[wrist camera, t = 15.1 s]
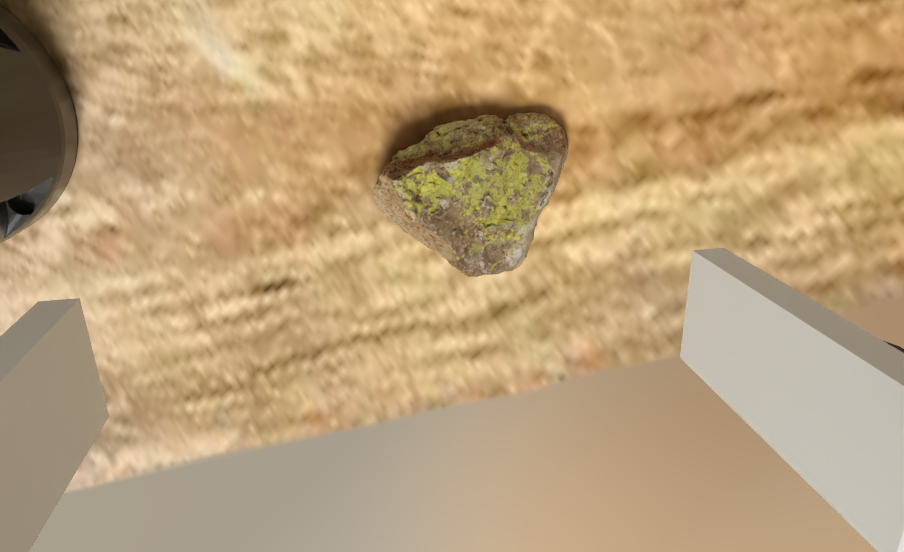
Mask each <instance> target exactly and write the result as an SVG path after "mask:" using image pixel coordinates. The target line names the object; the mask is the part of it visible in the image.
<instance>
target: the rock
mask: <svg viewBox="0 0 904 552" xmlns="http://www.w3.org/2000/svg"><path fill="white" fill-rule="evenodd" d="M567 151H568V143H567V138H566V135H565V130H563V129H562V127H561V126H560V125H559V124H558V123H557V122H556V121H555V120H554V119H552V118H551V117H549V116H548V115H547V114H539V113H534V112H531V113H526V114H520V113H517V114H515V115H510V116H509V117H508V118H507V119H506V120H505V121H504V120H503V119H500V118H498V117H497V116H496V115H491V116H490V115H488V114H487V115H481V116H478V117H477V118H475V119H471V120H470V119H467V120H466V121H463V120H461V121H455V122H451V123H447V124H443V125H438V126H436V127H434V129H433V131H431V132H430V133H428V134H427V135H425V138H424V140H422V141H421V142H420V143H418V144H415V145H412V146H409V147H408V148H407V149H405V150H401V151H398V153H397V154H396V155H395V156H393V157H392V162H390V163H387V164H386V165H385V166H384V168H383V169H382V172H381V174H380V176H379V178H378V181H377V183H376V186H375V187H374V189H373V196H374V199H375V202H376V205H377V206H378V208H379V209H380V210H381V211H382V212H383V213H384V214H385V215H386V216H387V217H388V219H389V220H390V221H392V222H394V223H395V224H397V225H399V227H400V228H401V229H402V230H403V231H404V232H406V233H408V234H410V235H411V236H412V237H413V238H414V239H416V240H418V241H420V242H421V243H423V244H424V245H425V246H427V247H428V248H430V249H433V250H435V251H437V252H438V253H439V254H440V255H441V256H442V257H443V258H445V259H446V260H447V261H448V262H449V263H450V264H451V265H452V266H454V267H456V268H457V269H458V270H460V271H461V272H462V273H464V274H465V275H467V276H469V277H470V276H476V277H477V276H481V275H485V274H499V273H501V272H504V271H512V270H514V269H516V268H518V267H519V266H520V265H521V264H522V262H523V261H524V260H525V259H526V257H527V253H528V249H529V246H530V244H531V242H532V241H533V239H534V228H535V227H536V224H537V219H538V216H539V215H540V213H541V211H542V210H543V208H544V207H545V206H547V205H548V203H549V199H550V196H551V195H552V193H553V192H554V190H555V187H556V185H557V183H558V180H559V177H560V173H561V170H562V169H563V167H564V163H565V161H566V158H567V154H568V152H567Z"/></svg>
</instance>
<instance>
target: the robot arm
mask: <svg viewBox="0 0 904 552" xmlns="http://www.w3.org/2000/svg"><path fill="white" fill-rule="evenodd" d="M76 152H77V124H76V117H75V112H74V108H73V104H72V100H71V97H70V94H69V92H68V89H67V87H66V84H65V82H64V80H63V78H62V76H61V74H60V72H59V70H58V68H57V66H56V65H55V63H54V61H53V60H52V58H51V57H50V55H49V54H48V53H47V51H46V50H45V48H44V47H43V46H42V45H41V43H40V42H39V41H38V40H37V39H36V37H35V36H34V35H33V34H32V33H31V32H30V31H29V30H28V29H27V28H26V27H25V26H24V25H23V24H22V23H21V22H20V21H19V20H18V19H17V18H15V17H14V16H13V15H12V14H11V13H9V12H8V11H7V10H6V9H4V8H3V7H2V6H0V243H1V242H3V241H5V240H7V239H9V238H11V237H13V236H14V235H16V234H17V233H19V232H21V231H22V230H24V229H25V228H27V227H29V226H30V225H32V224H33V223H35V222H36V221H37V220H39V219H40V218H41V217H42V216H43V215H45V214H46V213H47V212H48V211H49V210H50V209H51V208H52V207H53V205H54V204H55V203H56V202H57V200H58V199H59V198H60V196H61V195H62V193H63V191H64V190H65V188H66V186H67V184H68V182H69V179H70V177H71V174H72V171H73V168H74V164H75V159H76ZM680 358H681V359H682V360H683V361H684V362H685V363H686V364H687V365H688V366H689V367H690V368H691V369H692V370H693V371H694V372H695V373H697V375H699V377H701V378H702V379H703V380H704V381H705V382H706V383H707V384H708V385H709V386H710V387H711V388H712V389H713V390H714V391H715V392H716V393H717V394H718V395H719V396H720V397H721V398H722V399H723V400H724V401H725V402H726V403H727V404H728V405H729V406H730V407H731V408H732V409H733V410H734V411H735V412H736V413H737V414H738V415H739V416H740V417H741V418H742V419H743V420H744V421H745V422H747V423H748V424H749V426H750V427H752V428H753V429H754V430H755V431H756V432H757V433H758V434H759V435H760V436H761V437H762V438H763V439H764V440H765V441H766V442H767V443H768V444H769V445H770V446H771V447H772V448H773V449H774V450H775V451H776V452H777V453H778V454H779V455H780V456H781V457H782V458H783V459H784V460H785V461H786V462H787V463H788V464H789V465H790V466H791V467H792V468H793V469H794V470H795V471H796V472H797V473H798V474H800V475H801V476H802V478H803V479H805V480H806V481H807V482H808V483H809V484H810V485H811V486H812V487H813V488H814V489H815V490H816V491H817V492H818V493H819V494H820V495H821V496H822V497H823V498H824V499H825V500H826V501H827V502H828V503H829V504H830V505H831V506H832V507H833V508H834V509H835V510H836V511H837V512H838V513H839V514H840V515H841V516H842V517H843V518H844V519H845V520H846V521H847V522H848V523H849V524H850V525H852V527H854V529H856V530H857V531H858V532H859V533H860V534H861V535H862V536H863V537H864V538H865V539H866V540H867V541H868V542H869V543H870V544H871V545H872V546H873V547H874V548H875V549H876V550H877V551H878V552H904V349H903V348H901V347H899V346H896V345H894V344H891V343H888V342H885V341H883V340H881V339H879V338H877V337H875V336H874V335H872V334H870V333H869V332H867V331H865V330H863V329H862V328H860V327H858V326H857V325H855V324H853V323H851V322H850V321H848V320H846V319H845V318H843V317H841V316H839V315H838V314H836V313H834V312H833V311H831V310H829V309H827V308H826V307H824V306H822V305H821V304H819V303H817V302H815V301H814V300H812V299H810V298H809V297H807V296H805V295H803V294H802V293H800V292H798V291H797V290H795V289H793V288H791V287H790V286H788V285H786V284H785V283H783V282H781V281H779V280H778V279H776V278H774V277H773V276H771V275H769V274H767V273H766V272H764V271H762V270H761V269H759V268H757V267H755V266H754V265H752V264H750V263H749V262H747V261H745V260H743V259H742V258H740V257H738V256H737V255H735V254H733V253H731V252H730V251H728V250H726V249H725V248H718V249H705V250H693V252H692V260H691V269H690V277H689V286H688V294H687V303H686V311H685V320H684V328H683V337H682V345H681V354H680ZM108 417H109V414H108V410H107V406H106V402H105V398H104V394H103V390H102V386H101V382H100V378H99V374H98V370H97V366H96V362H95V358H94V354H93V350H92V346H91V342H90V338H89V334H88V330H87V326H86V322H85V318H84V314H83V310H82V307H81V303H80V299H66V300H53V301H41V302H37V303H36V304H35V305H34V306H33V307H32V308H31V309H30V310H29V311H28V312H27V313H25V314H24V315H23V316H22V317H21V318H20V319H19V320H18V321H17V322H16V323H15V324H14V325H12V326H11V327H10V328H9V329H8V330H7V331H6V332H5V333H4V334H3V335H2V336H0V552H29V550H30V549H31V547H32V545H33V543H34V542H35V540H36V539H37V537H38V535H39V533H40V532H41V530H42V528H43V527H44V525H45V523H46V522H47V520H48V518H49V517H50V515H51V513H52V511H53V510H54V508H55V506H56V505H57V503H58V501H59V500H60V498H61V496H62V495H63V493H64V491H65V489H66V488H67V486H68V484H69V483H70V481H71V479H72V478H73V476H74V474H75V473H76V471H77V469H78V468H79V466H80V464H81V462H82V461H83V459H84V457H85V456H86V454H87V452H88V451H89V449H90V447H91V446H92V444H93V442H94V440H95V439H96V437H97V435H98V434H99V432H100V430H101V429H102V427H103V425H104V424H105V422H106V420H107V418H108Z"/></svg>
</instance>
